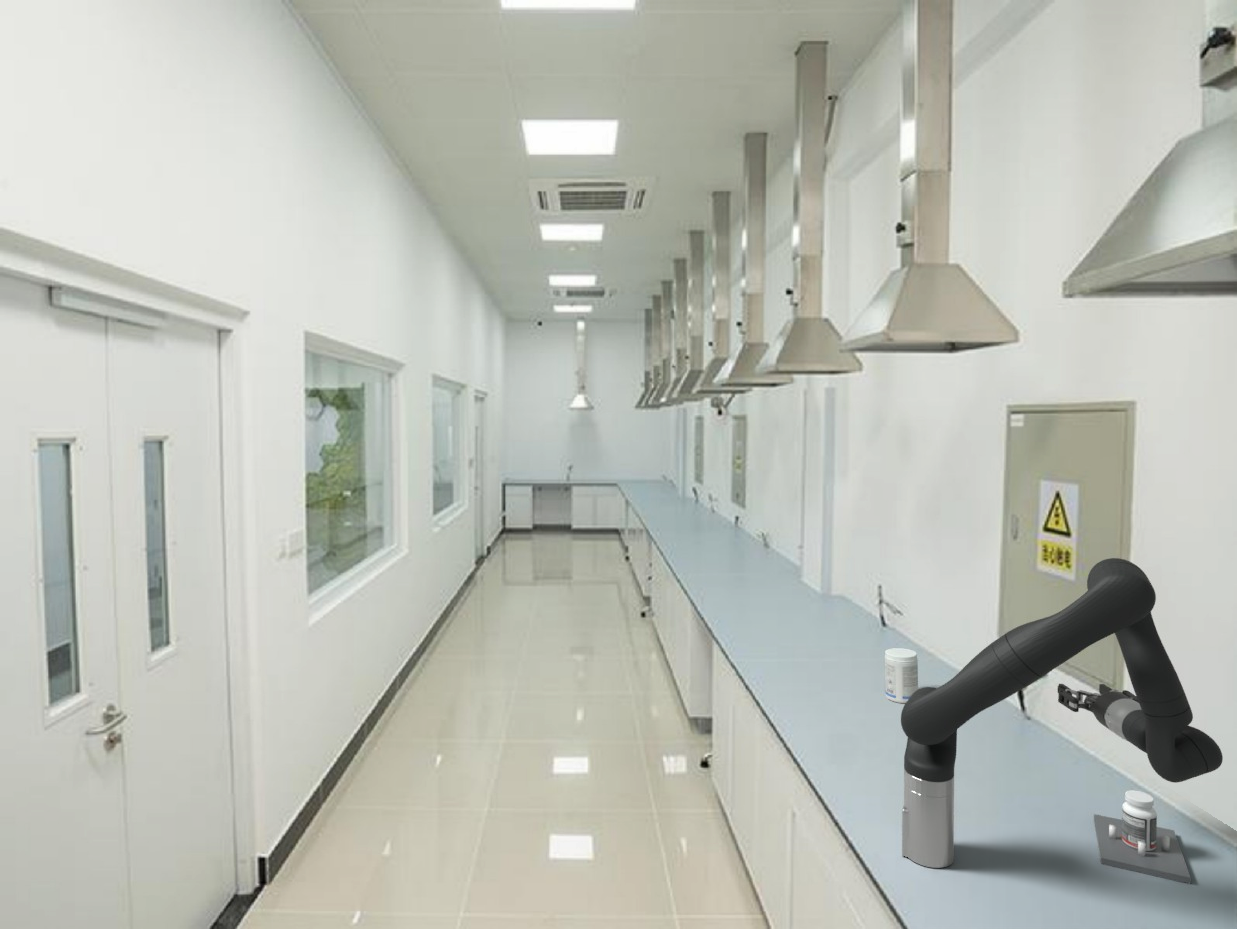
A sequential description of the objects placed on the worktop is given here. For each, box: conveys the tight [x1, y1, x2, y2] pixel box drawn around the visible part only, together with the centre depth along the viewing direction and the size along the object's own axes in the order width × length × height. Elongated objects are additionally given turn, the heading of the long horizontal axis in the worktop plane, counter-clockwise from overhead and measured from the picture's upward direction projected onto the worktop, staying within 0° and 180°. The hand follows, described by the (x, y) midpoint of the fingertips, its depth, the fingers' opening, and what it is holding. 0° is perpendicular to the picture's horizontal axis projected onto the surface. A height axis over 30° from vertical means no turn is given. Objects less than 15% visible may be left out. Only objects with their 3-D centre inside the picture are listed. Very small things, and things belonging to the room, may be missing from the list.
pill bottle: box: [1121, 789, 1158, 851], centre depth 149 cm, size 6×6×10 cm
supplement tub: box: [884, 647, 919, 704], centre depth 231 cm, size 10×10×15 cm
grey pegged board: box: [1093, 813, 1192, 884], centre depth 149 cm, size 14×18×4 cm
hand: (1080, 688), depth 162 cm, fingers open, 8 cm apart
